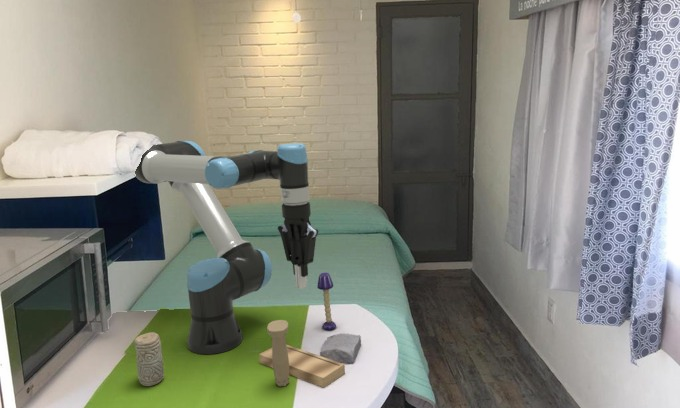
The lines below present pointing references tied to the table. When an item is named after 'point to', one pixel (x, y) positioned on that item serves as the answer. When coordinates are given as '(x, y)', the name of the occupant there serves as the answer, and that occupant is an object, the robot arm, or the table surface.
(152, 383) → the carving
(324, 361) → the oak board
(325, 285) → the toy lamp
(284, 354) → the handle
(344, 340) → the stone block
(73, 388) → the table surface
